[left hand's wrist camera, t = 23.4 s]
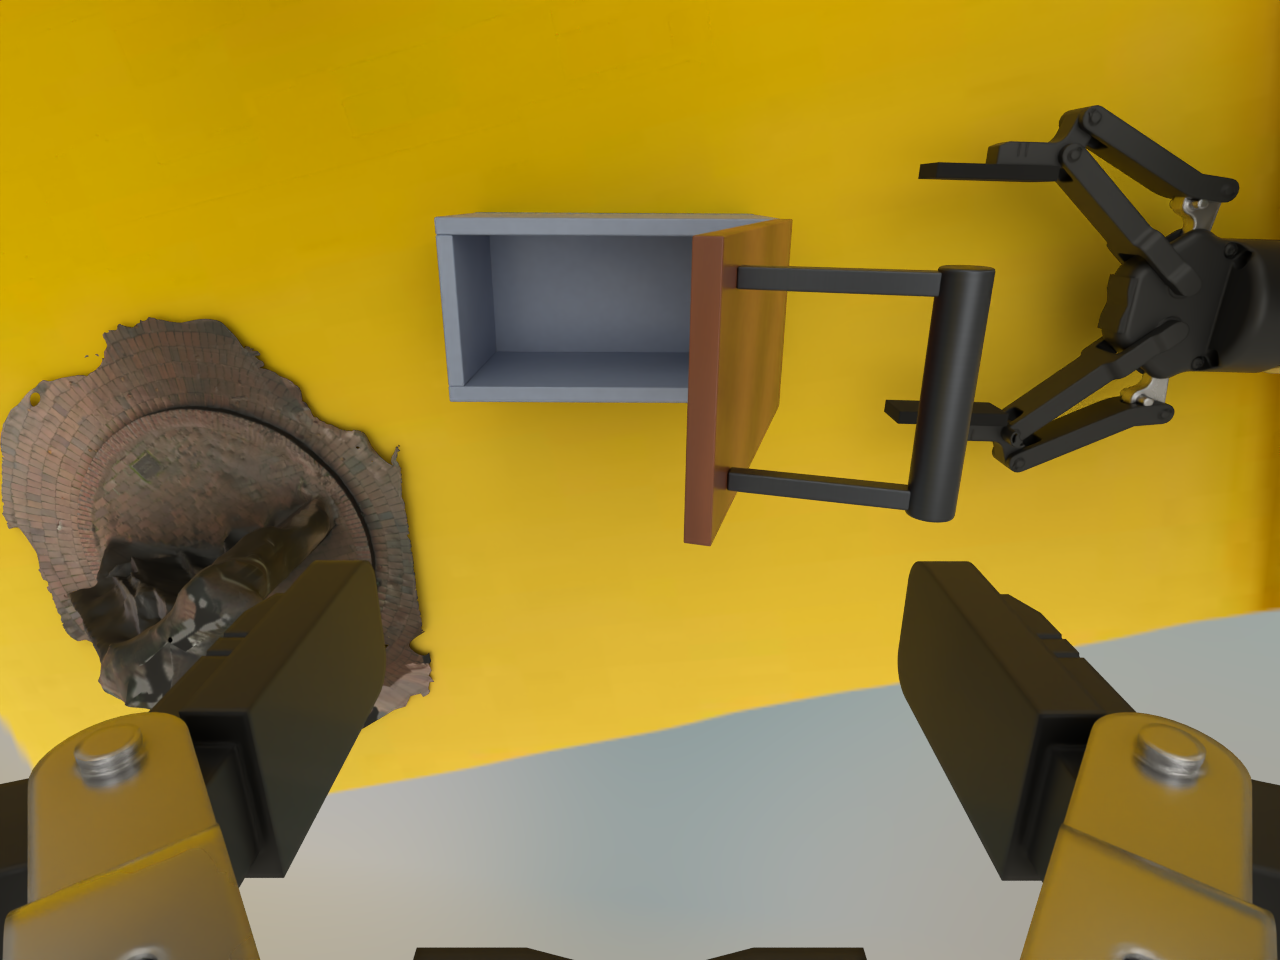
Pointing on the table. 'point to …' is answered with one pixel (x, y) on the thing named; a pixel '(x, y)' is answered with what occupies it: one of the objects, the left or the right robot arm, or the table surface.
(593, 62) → the table surface
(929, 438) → the lid
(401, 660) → the sculpture
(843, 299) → the table surface
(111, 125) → the table surface
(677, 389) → the chest
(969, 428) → the right robot arm
